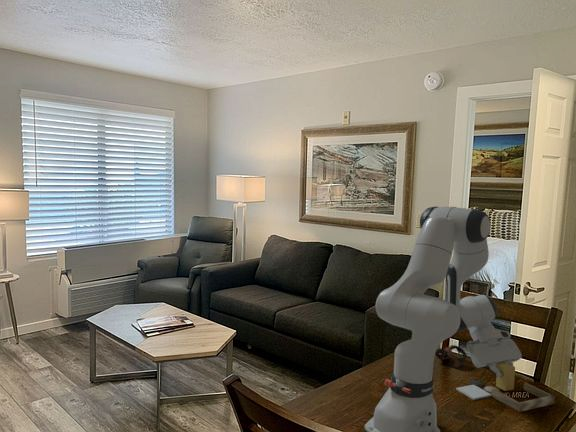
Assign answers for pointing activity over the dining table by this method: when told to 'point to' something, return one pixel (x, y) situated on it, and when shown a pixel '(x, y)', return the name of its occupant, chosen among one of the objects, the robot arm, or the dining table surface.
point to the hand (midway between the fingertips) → (507, 375)
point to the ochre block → (506, 377)
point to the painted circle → (490, 389)
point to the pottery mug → (451, 355)
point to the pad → (473, 392)
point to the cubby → (526, 405)
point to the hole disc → (477, 383)
